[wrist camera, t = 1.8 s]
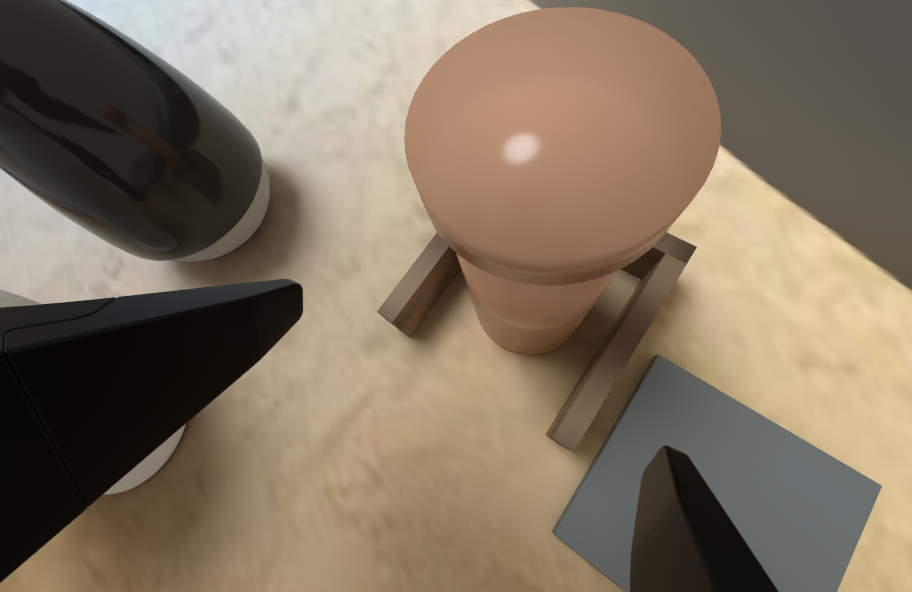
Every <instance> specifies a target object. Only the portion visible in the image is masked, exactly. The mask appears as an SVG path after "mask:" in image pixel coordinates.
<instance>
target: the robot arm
mask: <svg viewBox="0 0 912 592" xmlns="http://www.w3.org/2000/svg"><path fill="white" fill-rule="evenodd" d="M302 313H303V288H302V286H301V285H300V284H299V283H297V282H294V281H292V280H290V279H278V280H269V281H260V282H251V283H242V284H232V285H223V286H214V287H205V288H196V289H187V290H178V291H168V292H159V293H150V294H141V295H132V296H123V297H118V298H114V297H113V298H104V299H95V300H85V301H75V302H65V303H52V304H40V305H27V306H13V307H0V583H1V582H2V581H3V580H4V579H5V578H7V577H8V576H9V575H10V574H11V573H12V572H14V571H15V570H16V569H17V568H18V567H19V566H21V565H22V564H23V563H24V562H25V561H26V560H28V559H29V558H30V557H31V556H32V555H33V554H35V553H36V552H37V551H38V550H39V549H40V548H42V547H43V546H44V545H45V544H46V543H47V542H49V541H50V540H51V539H52V538H53V537H54V536H56V535H57V534H58V533H59V532H60V531H61V530H63V529H64V528H65V527H66V526H67V525H68V524H70V523H71V522H72V521H73V520H74V519H75V518H77V517H78V516H79V515H80V514H81V513H82V512H84V511H85V510H86V509H87V508H88V506H90V505H91V504H93V503H94V502H95V501H96V500H97V499H98V498H100V497H101V496H102V495H103V494H104V493H105V492H107V491H108V490H109V489H110V488H111V487H112V486H114V485H115V484H116V483H117V482H118V481H119V480H121V479H122V478H123V477H124V476H125V475H126V474H128V473H129V472H130V471H131V470H132V469H133V468H135V467H136V466H137V465H138V464H139V463H140V462H142V461H143V460H144V459H145V458H146V457H148V456H149V455H150V454H151V453H152V452H153V451H155V450H156V449H157V448H158V447H159V446H160V445H162V444H163V443H164V442H165V441H166V440H167V439H169V438H170V437H171V436H172V435H173V434H174V433H176V432H177V431H178V430H179V429H180V428H181V427H183V426H184V425H185V424H186V423H187V422H188V421H190V420H191V419H192V418H193V417H194V416H195V415H197V414H198V413H199V412H200V411H201V410H202V409H204V408H205V407H206V406H207V405H208V404H209V403H211V402H212V401H213V400H214V399H215V398H216V397H218V396H219V395H220V394H221V393H222V392H223V391H225V390H226V389H227V388H228V387H229V386H231V385H232V384H233V383H234V382H235V381H236V380H238V379H239V378H240V377H241V376H242V375H243V374H245V373H246V372H247V371H248V370H249V369H250V368H252V367H253V366H254V365H255V364H256V363H257V362H258V361H259V360H260V359H261V358H262V357H263V356H264V355H265V354H267V352H268V351H269V350H270V349H271V348H272V347H273V346H274V345H275V344H276V343H277V342H278V341H279V340H280V339H281V338H282V337H283V336H284V335H285V334H286V333H287V332H288V331H289V330H290V329H291V328H292V327H293V325H294V324H295V323H296V322H297V321H298V320H299V319H300V318H301V316H302ZM630 592H779V591H778V589H777V588H776V586H775V585H774V583H773V582H772V580H771V579H770V577H769V576H768V574H767V573H766V571H765V570H764V568H763V567H762V565H761V564H760V562H759V561H758V559H757V558H756V556H755V555H754V553H753V552H752V550H751V549H750V547H749V546H748V544H747V543H746V541H745V540H744V538H743V537H742V535H741V534H740V532H739V531H738V529H737V528H736V526H735V525H734V523H733V522H732V520H731V519H730V517H729V516H728V514H727V513H726V511H725V510H724V508H723V507H722V505H721V504H720V502H719V501H718V499H717V498H716V496H715V495H714V493H713V492H712V490H711V489H710V487H709V486H708V484H707V483H706V481H705V480H704V478H703V477H702V475H701V474H700V472H699V471H698V469H697V468H696V466H695V465H694V463H693V462H692V460H691V459H690V457H689V456H688V455H687V454H686V453H684V452H682V451H680V450H678V449H675V448H673V447H671V446H668V445H664V446H662V447H661V448H660V449H659V450H658V452H657V453H656V455H655V456H654V457H653V459H652V460H651V461H650V463H649V464H648V465H647V467H646V468H645V470H644V472H643V475H642V478H641V484H640V491H639V498H638V505H637V512H636V519H635V526H634V533H633V540H632V548H631V562H630Z"/></svg>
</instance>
